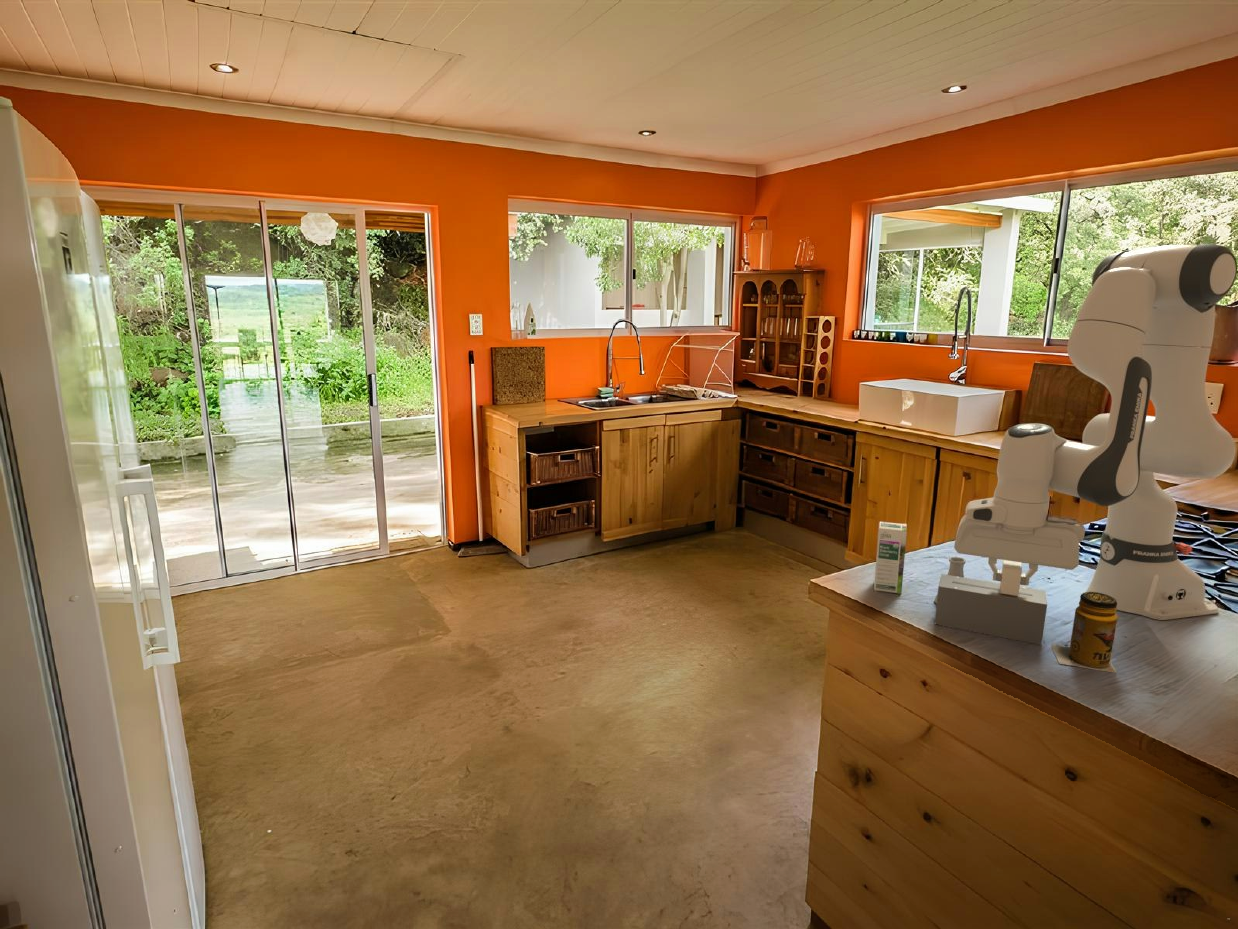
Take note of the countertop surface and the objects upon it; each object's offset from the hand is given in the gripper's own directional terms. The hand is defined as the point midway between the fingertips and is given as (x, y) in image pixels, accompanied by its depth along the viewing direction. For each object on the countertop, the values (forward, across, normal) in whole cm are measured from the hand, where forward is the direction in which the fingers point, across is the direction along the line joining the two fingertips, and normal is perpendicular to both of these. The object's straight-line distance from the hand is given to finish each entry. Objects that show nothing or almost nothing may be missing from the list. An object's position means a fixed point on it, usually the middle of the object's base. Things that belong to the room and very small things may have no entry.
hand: (1010, 582), depth 130 cm
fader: (+1, 0, 0) cm, 1 cm away
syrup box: (+10, +23, -11) cm, 27 cm away
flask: (+10, +10, -8) cm, 16 cm away
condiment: (+10, -12, +6) cm, 17 cm away
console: (+10, +3, 0) cm, 10 cm away
